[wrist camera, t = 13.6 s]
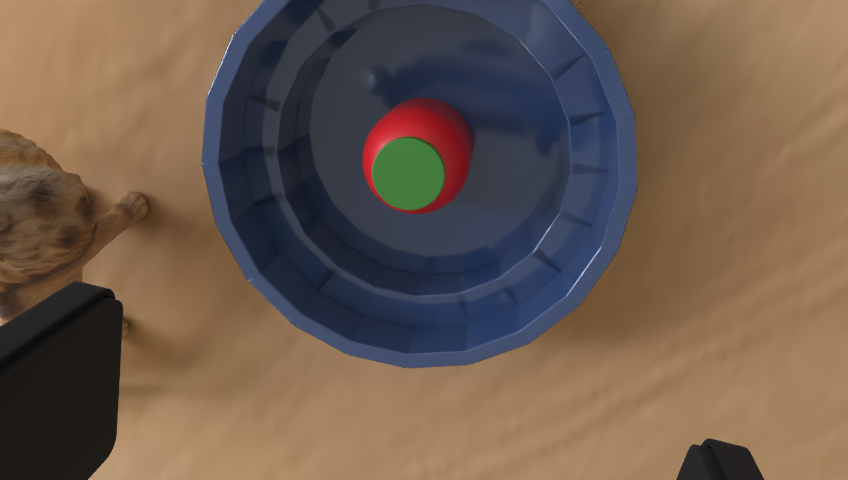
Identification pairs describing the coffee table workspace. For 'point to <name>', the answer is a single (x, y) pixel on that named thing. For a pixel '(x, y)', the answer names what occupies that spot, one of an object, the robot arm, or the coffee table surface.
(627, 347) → the coffee table surface
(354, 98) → the bowl
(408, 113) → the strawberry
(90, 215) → the tan animal figure
